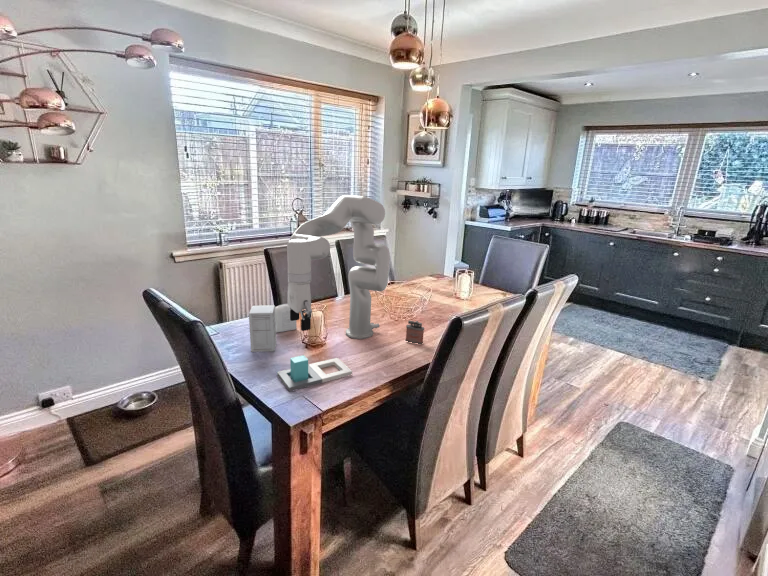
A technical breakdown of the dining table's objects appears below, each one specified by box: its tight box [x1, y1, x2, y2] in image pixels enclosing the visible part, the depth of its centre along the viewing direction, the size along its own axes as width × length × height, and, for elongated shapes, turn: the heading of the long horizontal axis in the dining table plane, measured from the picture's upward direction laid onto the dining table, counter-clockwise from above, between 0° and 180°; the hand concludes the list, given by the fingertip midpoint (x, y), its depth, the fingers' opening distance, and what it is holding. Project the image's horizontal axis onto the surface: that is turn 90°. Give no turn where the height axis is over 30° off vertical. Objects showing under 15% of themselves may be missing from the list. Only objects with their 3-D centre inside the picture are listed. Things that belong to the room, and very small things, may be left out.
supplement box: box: [248, 304, 277, 353], centre depth 161 cm, size 10×9×17 cm
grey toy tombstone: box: [275, 303, 297, 333], centre depth 180 cm, size 10×4×12 cm, turn 123°
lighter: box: [404, 319, 425, 344], centre depth 174 cm, size 8×3×10 cm, turn 71°
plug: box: [289, 354, 309, 383], centre depth 140 cm, size 5×4×8 cm
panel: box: [276, 357, 353, 392], centre depth 144 cm, size 24×12×2 cm, turn 123°
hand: (300, 324), depth 136 cm, fingers open, 9 cm apart
